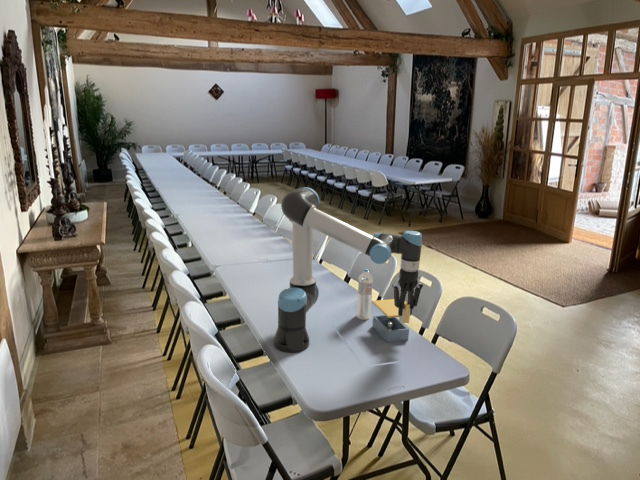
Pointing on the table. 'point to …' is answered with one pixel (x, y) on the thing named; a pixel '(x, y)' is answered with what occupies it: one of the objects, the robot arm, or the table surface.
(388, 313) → the lid
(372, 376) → the table surface
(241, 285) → the table surface
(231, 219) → the table surface
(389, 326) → the part
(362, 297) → the water bottle
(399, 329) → the tub
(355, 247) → the robot arm
